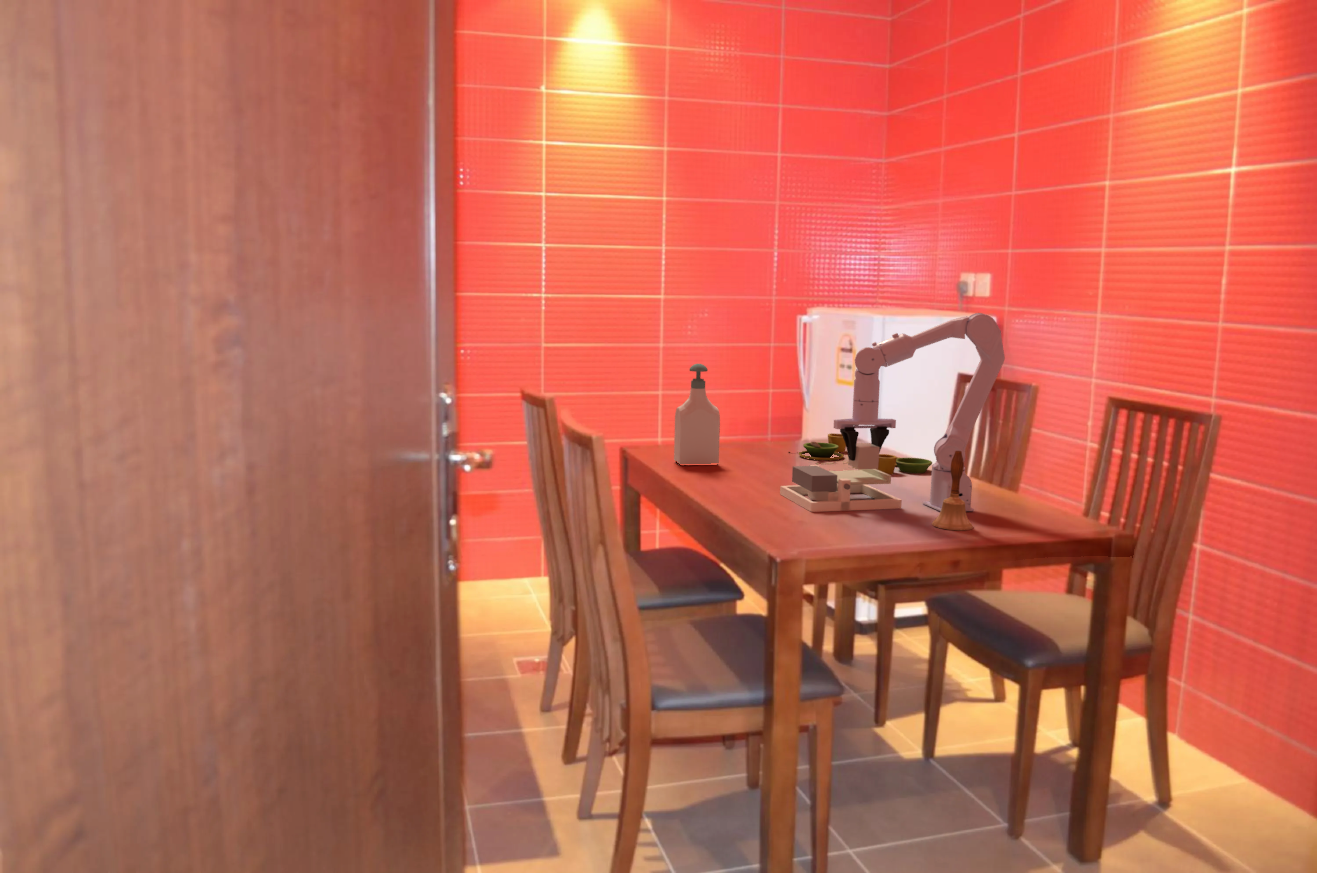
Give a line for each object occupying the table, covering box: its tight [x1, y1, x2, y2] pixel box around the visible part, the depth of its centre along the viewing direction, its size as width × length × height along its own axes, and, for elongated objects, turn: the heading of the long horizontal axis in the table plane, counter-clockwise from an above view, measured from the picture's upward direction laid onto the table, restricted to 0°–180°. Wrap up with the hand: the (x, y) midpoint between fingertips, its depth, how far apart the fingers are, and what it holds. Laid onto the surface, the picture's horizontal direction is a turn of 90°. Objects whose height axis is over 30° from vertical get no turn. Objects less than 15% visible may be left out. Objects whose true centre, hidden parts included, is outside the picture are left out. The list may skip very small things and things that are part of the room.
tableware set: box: [798, 432, 933, 475], centre depth 296 cm, size 41×28×6 cm
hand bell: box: [931, 451, 974, 531], centre depth 219 cm, size 8×8×16 cm
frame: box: [779, 464, 902, 513], centre depth 243 cm, size 21×22×7 cm
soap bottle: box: [673, 363, 721, 465], centre depth 287 cm, size 11×8×27 cm
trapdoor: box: [791, 465, 892, 492], centre depth 242 cm, size 14×19×4 cm
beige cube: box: [847, 442, 880, 470], centre depth 241 cm, size 5×5×5 cm
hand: (863, 459), depth 241 cm, fingers closed on beige cube, 5 cm apart
